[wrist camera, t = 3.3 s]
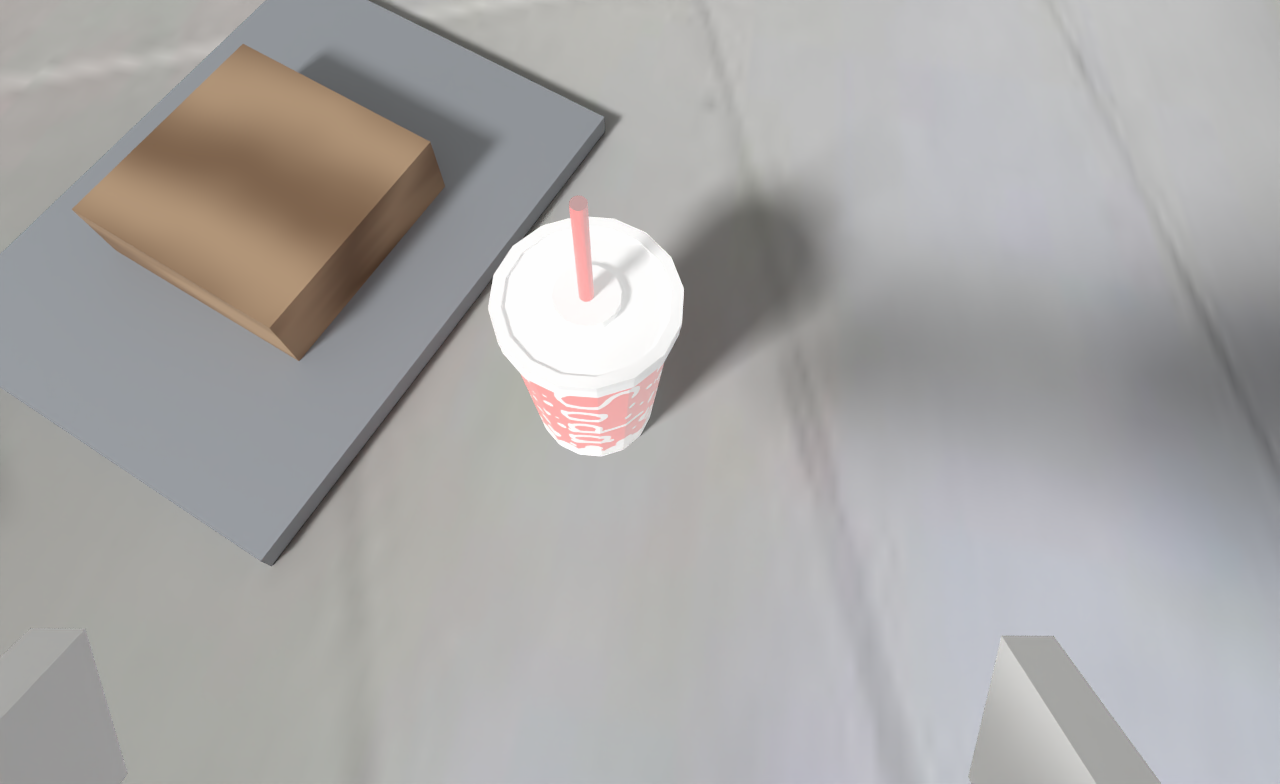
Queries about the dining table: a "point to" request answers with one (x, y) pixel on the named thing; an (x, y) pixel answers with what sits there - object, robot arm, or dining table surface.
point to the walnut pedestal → (266, 198)
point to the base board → (241, 361)
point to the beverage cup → (588, 326)
